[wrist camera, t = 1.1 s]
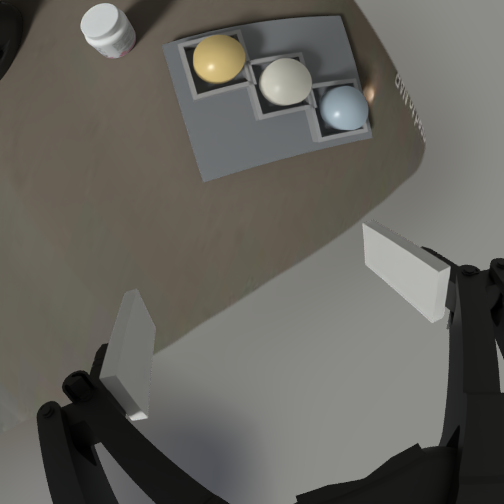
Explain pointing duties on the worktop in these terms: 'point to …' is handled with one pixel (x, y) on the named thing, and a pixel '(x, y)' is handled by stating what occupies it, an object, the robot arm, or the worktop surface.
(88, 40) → the pill bottle
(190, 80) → the panel
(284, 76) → the ivory button
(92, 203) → the worktop surface
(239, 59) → the ochre button
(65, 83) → the worktop surface
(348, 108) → the slate button
